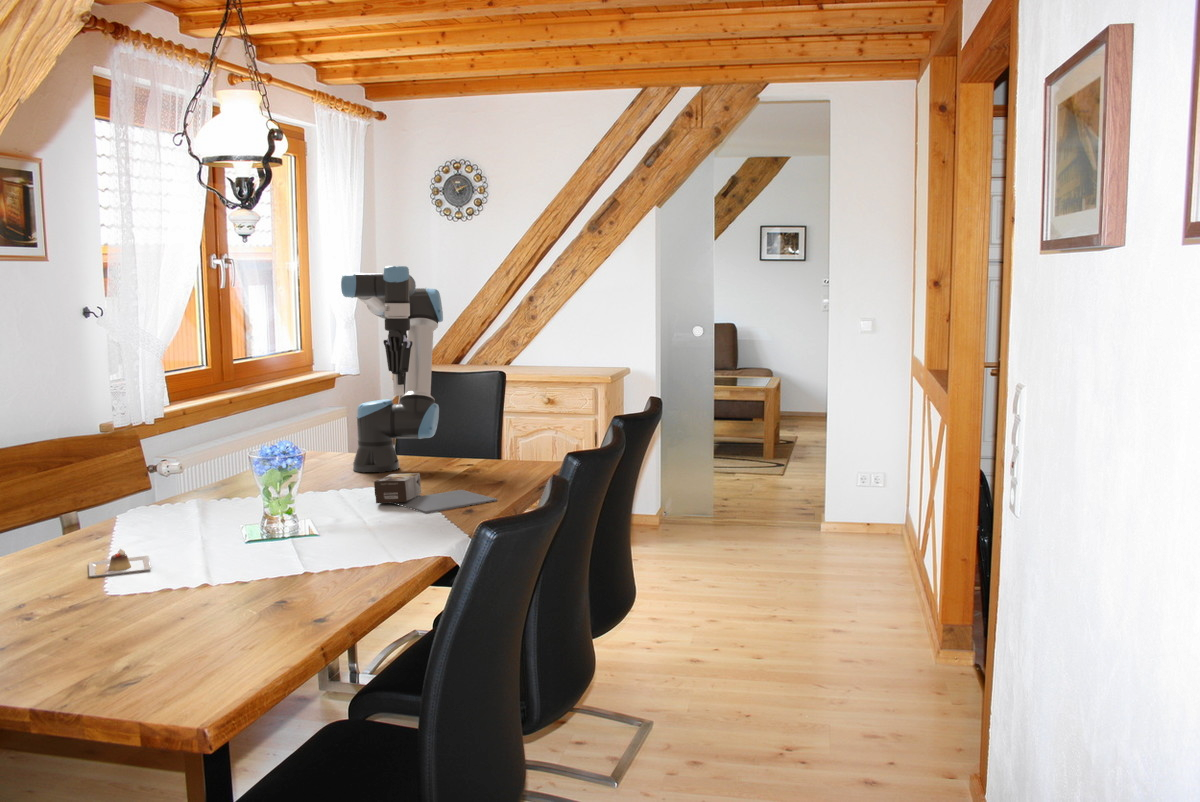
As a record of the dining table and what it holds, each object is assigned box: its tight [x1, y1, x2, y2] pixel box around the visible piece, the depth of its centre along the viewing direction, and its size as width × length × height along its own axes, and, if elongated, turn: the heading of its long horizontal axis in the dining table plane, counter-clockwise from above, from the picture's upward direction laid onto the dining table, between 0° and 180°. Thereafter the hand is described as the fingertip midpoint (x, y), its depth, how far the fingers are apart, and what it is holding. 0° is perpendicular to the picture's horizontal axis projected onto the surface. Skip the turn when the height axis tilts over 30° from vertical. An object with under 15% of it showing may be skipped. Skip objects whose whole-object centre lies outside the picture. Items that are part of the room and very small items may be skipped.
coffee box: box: [373, 472, 422, 504], centre depth 285 cm, size 9×6×16 cm
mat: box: [395, 489, 498, 514], centre depth 283 cm, size 18×24×1 cm
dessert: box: [88, 548, 152, 578], centre depth 215 cm, size 12×12×5 cm
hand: (398, 395), depth 301 cm, fingers closed
